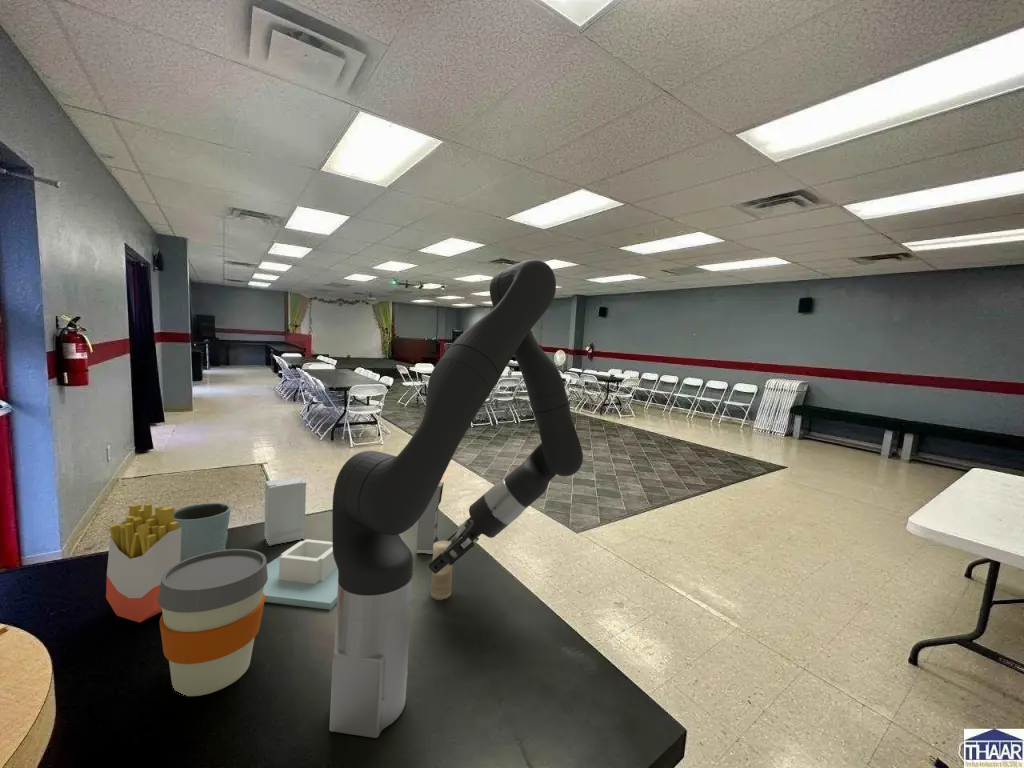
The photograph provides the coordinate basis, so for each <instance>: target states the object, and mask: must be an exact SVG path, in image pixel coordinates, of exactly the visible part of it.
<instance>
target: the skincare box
mask: <svg viewBox="0 0 1024 768" xmlns="http://www.w3.org/2000/svg"><path fill="white" fill-rule="evenodd" d="M306 492H307V482H306V481H305V480H304V479H303V477H301V476H296V477H295V476H294V477H289V478H283V479H280V478H279V479H274V480H265V481H264V536H265V538H264V540H265V539H266V540H265V542H266V541H267V542H266V544H267V543H268V544H269V545H270V544H275V543H280V542H284V541H287V540H290V539H295V538H298V537H304V536H306V502H307V501H306V496H307V493H306ZM300 516H301V517H300Z"/></svg>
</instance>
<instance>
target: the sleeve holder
mask: <svg viewBox="0 0 1024 768" xmlns="http://www.w3.org/2000/svg"><path fill="white" fill-rule="evenodd" d="M267 573H268V580H267V582H266V584H265V585H264V590H263V593H264V594H265V601H264V603H271V604H272V603H273V604H279V605H280V604H281V605H288V606H289V605H290V606H297V607H306V608H313V609H322V610H332V609H333V608H334V607H335V605H337V593H338V568H337V565H336V563H335V560H334V556H333V543H332V541H327V540H318V539H308V538H307V539H306V538H305V539H304V540H300V541H297V543H296V544H294V545H292V546H291V547H290V548H288V549H286V550H285V551H283V552H282V553H280V555H279V556H278V557H276V558H274V559H273V560H272V561H270V562H268V563H267Z"/></svg>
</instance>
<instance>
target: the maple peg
mask: <svg viewBox="0 0 1024 768" xmlns="http://www.w3.org/2000/svg"><path fill="white" fill-rule="evenodd" d="M449 545H450V541H446V540H439V541H438V542H435V543H434V544H433V555H432V561H433V560H434V559H435V558H436V557H437V556H438V555H440V554H441V553H442V552H443V550H444V549H446V548H447V547H448V546H449ZM454 552H455V551H454V550H451V551H450V553H451V554H452V555H454ZM453 565H454V564H453ZM453 565H451V566H450V565H449V563H448V564H447V565H446V566H445V567H444V568H442V569H441V570H440V571H439V572H438V573H436V574H435V573H433V572H432V571H431V581H430V582H431V583H430V584H431V585H430V597H431V598H432V599H433V598H434V600H436V601H443V599H445V600H447V599H449V598H450V597H451V596H450V595H452V585H453V584H452V582H453ZM449 596H450V597H449ZM448 597H449V598H448ZM446 598H447V599H446Z"/></svg>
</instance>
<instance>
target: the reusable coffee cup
mask: <svg viewBox="0 0 1024 768" xmlns="http://www.w3.org/2000/svg"><path fill="white" fill-rule="evenodd" d="M267 564H268V563H267V557H266V556H265V554H264V553H262V552H260V551H257V550H253V549H247V548H229V549H226V550H220V551H214V552H209V553H205V554H201V555H197V556H194V557H191V558H188V559H186V560H183V561H181V562H179V563H177V564H175V565H174V566H172V567H170V568H169V569H168V570H167V571H165V573H164V574H163V575H162V578H161V583H160V589H159V595H158V604H159V605H160V606H161V607H162V612H161V613H162V614H161V616H160V618H159V630H160V635H161V643H162V651H163V655H164V657H165V658H166V660H168V664H169V665H168V666H169V672H170V680H171V685H172V686H173V687H172V689H173V688H174V690H175V691H177V692H179V693H181V694H183V695H182V696H184V695H186V696H185V697H200V696H203V695H204V696H205V695H209V694H212V693H214V692H218V691H220V690H222V689H225V688H226V687H228V686H230V685H232V684H233V683H235V682H237V681H238V680H239V679H240V678H242V676H243V675H244V674H245V673H246V672H247V670H248V669H249V667H250V664H251V659H252V654H253V647H254V643H255V637H257V635H258V633H259V632H260V631H259V630H260V626H261V621H262V616H263V611H264V606H265V602H264V601H265V594H264V593H263V590H264V585H265V584H266V582H267V580H268V573H267ZM174 690H173V691H174ZM175 691H174V692H175Z"/></svg>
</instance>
